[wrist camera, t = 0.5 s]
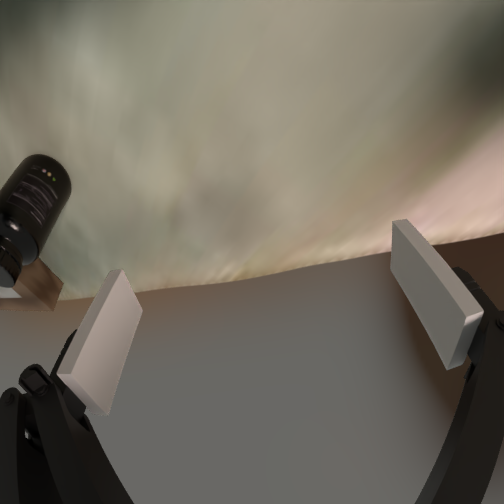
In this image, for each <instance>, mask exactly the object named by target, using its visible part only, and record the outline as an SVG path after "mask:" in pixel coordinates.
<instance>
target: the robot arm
mask: <svg viewBox="0 0 504 504" xmlns="http://www.w3.org/2000/svg"><path fill="white" fill-rule="evenodd" d="M390 270H391V271H392V273H393V274H394V276H395V278H396V279H397V281H398V283H399V284H400V286H401V288H402V289H403V291H404V293H405V294H406V296H407V298H408V299H409V301H410V303H411V304H412V306H413V308H414V310H415V311H416V313H417V315H418V317H419V318H420V320H421V322H422V324H423V326H424V327H425V329H426V331H427V333H428V334H429V337H430V338H431V340H432V342H433V344H434V346H435V348H436V350H437V352H438V354H439V356H440V357H441V360H442V361H443V363H444V365H445V367H446V369H447V370H449V369H451V368H454V367H457V366H459V365H462V364H463V363H464V360H465V358H466V356H467V354H468V356H469V357H470V359H471V361H472V362H471V364H470V366H469V368H468V370H467V372H466V374H465V376H464V378H465V379H466V380H465V384H464V387H463V391H462V394H461V397H460V400H459V404H458V406H457V409H456V412H455V415H454V418H453V421H452V423H451V426H450V429H449V431H448V434H447V437H446V439H445V442H444V444H443V446H442V449H441V451H440V454H439V456H438V458H437V460H436V463H435V465H434V467H433V469H432V471H431V473H430V475H429V477H428V479H427V481H426V483H425V485H424V487H423V489H422V491H421V493H420V495H419V497H418V499H417V501H416V502H415V504H481V502H482V499H483V497H484V494H485V492H486V489H487V487H488V484H489V481H490V479H491V476H492V473H493V470H494V467H495V464H496V461H497V458H498V454H499V451H500V447H501V444H502V440H503V436H504V311H499V310H498V309H497V308H496V306H495V305H494V304H493V303H492V301H491V300H490V299H489V297H488V296H487V295H486V294H485V292H483V290H482V289H480V286H479V285H478V284H477V283H476V282H475V280H474V279H473V278H472V277H471V275H470V274H469V273H468V272H466V271H465V270H463V269H461V268H460V267H455V268H450V267H449V266H448V264H447V263H446V262H445V261H444V260H443V259H442V257H441V256H440V255H439V254H438V253H437V252H436V250H435V249H434V248H433V247H432V246H431V245H430V244H429V243H428V241H427V240H426V239H425V238H424V237H423V236H422V235H421V234H420V233H419V231H418V230H417V229H416V228H415V227H414V226H413V225H412V224H411V223H410V222H409V221H408V220H407V219H403V220H397V221H392V251H391V268H390ZM142 312H143V310H142V308H141V306H140V304H139V302H138V300H137V298H136V296H135V294H134V292H133V290H132V288H131V286H130V284H129V282H128V280H127V277H126V275H125V273H124V271H123V269H119V270H114V271H110V272H109V274H108V276H107V277H106V279H105V281H104V282H103V284H102V286H101V288H100V289H99V291H98V293H97V295H96V296H95V298H94V300H93V302H92V304H91V306H90V307H89V309H88V311H87V313H86V315H85V317H84V318H83V320H82V323H81V324H80V326H79V328H78V329H76V330H75V331H74V332H73V333H72V334H71V335H70V336H69V337H68V339H67V341H66V343H65V345H64V348H63V349H62V351H61V355H59V357H58V359H57V361H56V363H55V365H54V368H53V369H52V372H51V374H50V376H49V375H48V374H47V373H46V371H45V370H44V369H43V368H42V367H41V366H40V365H38V364H33V365H31V366H28V367H27V368H26V369H25V370H24V371H23V372H22V374H21V375H20V378H19V385H20V386H21V387H22V388H23V389H24V390H25V391H26V392H27V393H26V394H21V393H20V391H19V390H18V389H17V388H13V387H12V388H9V389H7V390H6V391H5V392H3V394H2V396H1V398H0V504H134V503H133V501H132V500H131V498H130V496H129V495H128V493H127V492H126V490H125V488H124V487H123V485H122V483H121V482H120V480H119V478H118V476H117V475H116V473H115V471H114V469H113V467H112V465H111V464H110V462H109V460H108V458H107V456H106V454H105V453H104V450H103V448H102V446H101V444H100V442H99V440H98V438H97V436H96V434H95V432H94V430H93V427H92V425H91V423H90V421H89V419H88V417H87V416H86V415H85V414H84V412H85V409H86V407H87V408H88V409H89V410H90V411H91V412H92V413H93V414H94V415H107V416H108V414H109V411H110V408H111V404H112V401H113V398H114V394H115V391H116V388H117V384H118V382H119V378H120V375H121V372H122V369H123V366H124V363H125V360H126V357H127V354H128V351H129V348H130V345H131V342H132V340H133V336H134V334H135V331H136V328H137V325H138V323H139V320H140V317H141V314H142ZM25 431H26V432H27V433H28V439H27V438H26V437H25Z"/></svg>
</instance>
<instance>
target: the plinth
mask: <svg viewBox="0 0 504 504" xmlns="http://www.w3.org/2000/svg"><path fill="white" fill-rule="evenodd" d="M63 284H64V283H63V282H62V281H61V280H60V279H59V278H58V277H57V276H56V275H55V274H54V273H53V272H52V271H51V270H50V269H49V268H48V267H47V266H46V265H45V264H44V263H43V262H42V261H41V260H40V259H39V258H37V259H36V260H35V261H34V262H33V263H31V264H29V265H26V266H23V269H22V271H21V274H20V275H19V277H18V279H17V281H16V284H15V285H14V286H13V287H11V288H4V287H0V310H16V311H17V310H18V311H54V308H55V305H56V303H57V300H58V297H59V294H60V292H61V289H62V286H63Z"/></svg>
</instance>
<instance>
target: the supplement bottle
mask: <svg viewBox="0 0 504 504" xmlns="http://www.w3.org/2000/svg"><path fill="white" fill-rule="evenodd" d="M70 193H71V181H70V178H69V176H68V173H67V172H66V170H65V169H64V168H63V166H62V165H61V164H60V163H59V162H57V161H56V160H55V159H53V158H51V157H49V156H46V155H42V154H35V155H31V156H29V157H27V158H25V159H24V160H23V161H22V162H21V164H20V165H19V166H18V167H17V169H16V170H15V171H14V172H13V174H12V175H11V176H10V178H9V179H8V180H7V182H6V183H5V185H4V186H3V187H2V189H1V190H0V287H4V288H11V287H13V286H14V285H15V284H16V281H17V279H18V277H19V275H20V274H21V271H22V269H23V266H26V265H29V264H31V263H33V262H34V261H35V260H36V259H37V258H38V257H39V255H40V253H41V251H42V249H43V247H44V245H45V243H46V241H47V239H48V236H49V234H50V232H51V231H52V229H53V227H54V225H55V223H56V221H57V219H58V217H59V215H60V213H61V211H62V210H63V208H64V206H65V204H66V202H67V200H68V199H69V196H70Z"/></svg>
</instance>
